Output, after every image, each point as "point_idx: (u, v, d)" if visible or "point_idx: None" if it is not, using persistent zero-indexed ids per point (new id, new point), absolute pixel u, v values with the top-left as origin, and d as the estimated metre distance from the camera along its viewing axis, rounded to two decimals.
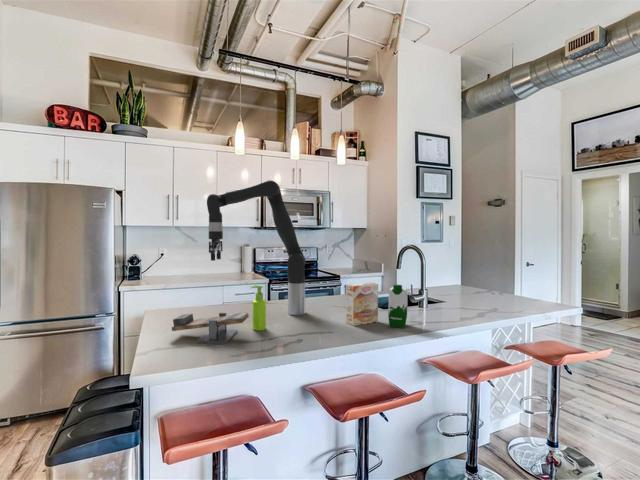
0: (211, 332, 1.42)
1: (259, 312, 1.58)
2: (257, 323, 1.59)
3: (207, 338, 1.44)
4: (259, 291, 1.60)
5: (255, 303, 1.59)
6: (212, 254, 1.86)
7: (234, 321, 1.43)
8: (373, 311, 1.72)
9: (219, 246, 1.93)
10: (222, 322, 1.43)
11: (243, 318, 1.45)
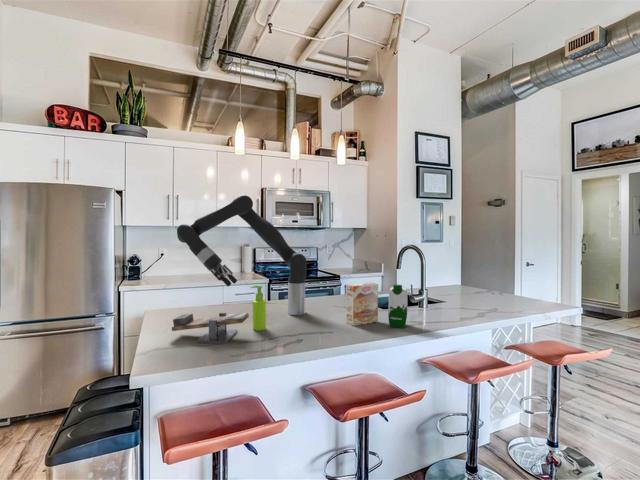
0: (211, 332, 1.42)
1: (259, 312, 1.58)
2: (257, 323, 1.59)
3: (207, 338, 1.44)
4: (259, 291, 1.60)
5: (255, 303, 1.59)
6: (224, 279, 1.57)
7: (234, 321, 1.43)
8: (373, 311, 1.72)
9: (225, 269, 1.64)
10: (222, 322, 1.43)
11: (243, 318, 1.45)
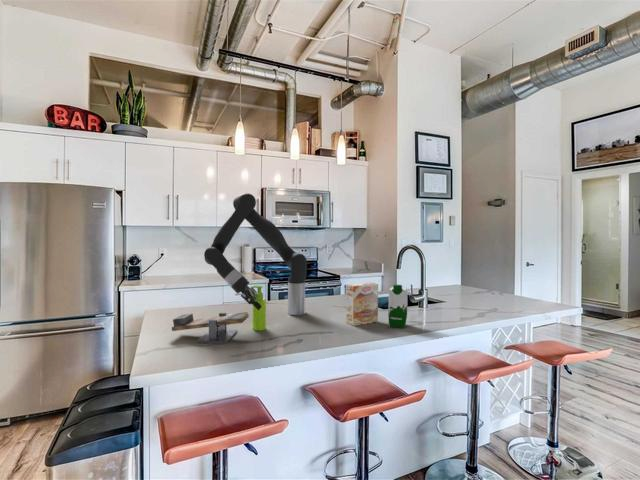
0: (211, 332, 1.42)
1: (259, 312, 1.58)
2: (257, 323, 1.58)
3: (207, 338, 1.44)
4: (259, 291, 1.60)
5: None
6: (254, 303, 1.57)
7: (234, 321, 1.43)
8: (373, 311, 1.72)
9: (252, 292, 1.63)
10: (222, 322, 1.43)
11: (243, 318, 1.45)
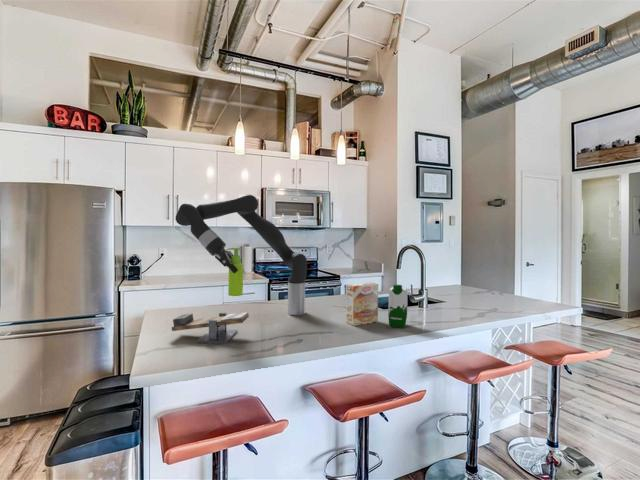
0: (211, 332, 1.42)
1: (235, 275, 1.45)
2: (233, 288, 1.45)
3: (207, 338, 1.44)
4: (236, 253, 1.46)
5: None
6: (230, 266, 1.43)
7: (234, 321, 1.43)
8: (373, 311, 1.72)
9: (229, 255, 1.49)
10: (222, 322, 1.43)
11: (243, 318, 1.45)
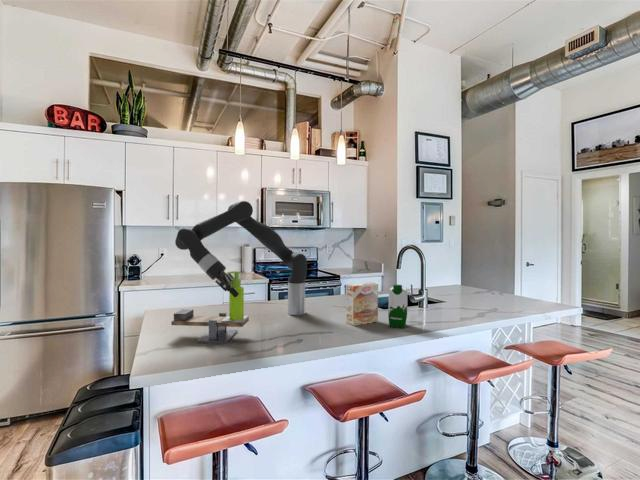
0: (211, 332, 1.42)
1: (236, 299, 1.45)
2: (234, 312, 1.45)
3: (207, 338, 1.44)
4: (236, 277, 1.46)
5: None
6: (230, 290, 1.43)
7: (235, 324, 1.43)
8: (373, 311, 1.72)
9: (229, 278, 1.49)
10: (222, 323, 1.43)
11: (243, 322, 1.45)
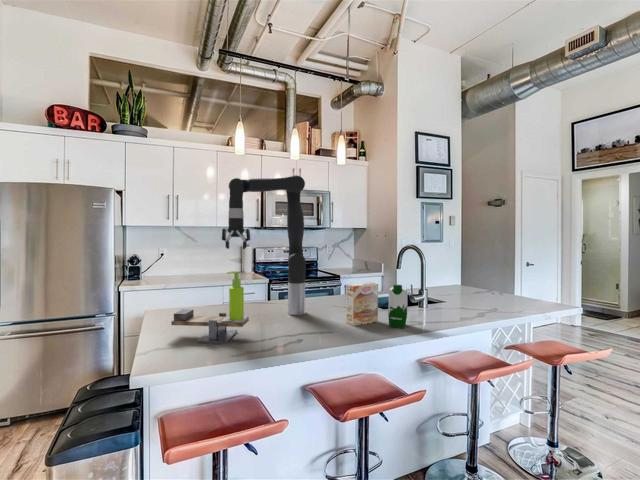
0: (211, 332, 1.42)
1: (235, 299, 1.45)
2: (234, 312, 1.45)
3: (207, 338, 1.44)
4: (236, 277, 1.46)
5: (231, 290, 1.45)
6: None
7: (235, 324, 1.43)
8: (373, 311, 1.72)
9: (238, 234, 1.78)
10: (222, 323, 1.43)
11: (243, 322, 1.45)
